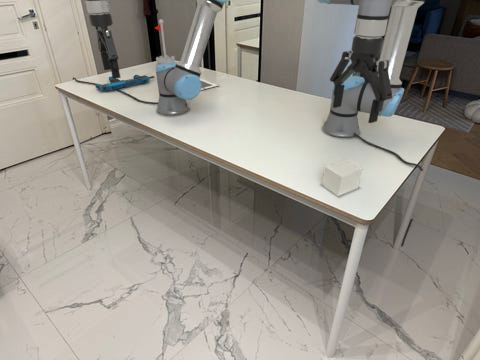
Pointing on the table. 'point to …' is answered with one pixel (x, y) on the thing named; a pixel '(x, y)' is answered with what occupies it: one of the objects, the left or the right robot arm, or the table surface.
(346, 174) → the block
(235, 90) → the table surface
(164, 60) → the flag stand
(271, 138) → the table surface
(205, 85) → the tablet
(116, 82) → the submachine gun
